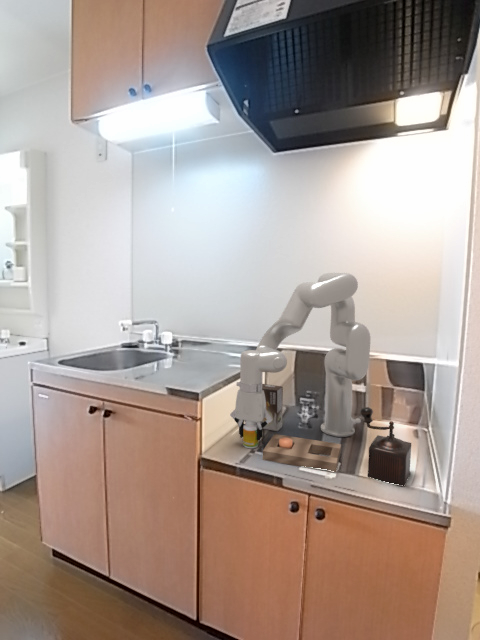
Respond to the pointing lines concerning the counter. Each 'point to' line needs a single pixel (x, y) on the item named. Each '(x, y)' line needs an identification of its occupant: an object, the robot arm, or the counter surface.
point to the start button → (285, 443)
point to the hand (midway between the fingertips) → (250, 437)
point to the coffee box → (273, 405)
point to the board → (303, 453)
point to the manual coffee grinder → (387, 454)
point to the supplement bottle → (250, 434)
